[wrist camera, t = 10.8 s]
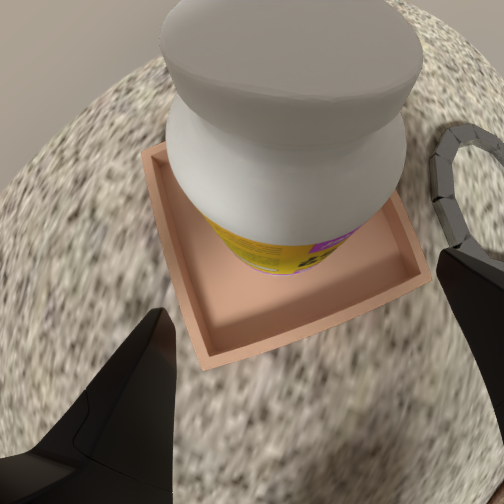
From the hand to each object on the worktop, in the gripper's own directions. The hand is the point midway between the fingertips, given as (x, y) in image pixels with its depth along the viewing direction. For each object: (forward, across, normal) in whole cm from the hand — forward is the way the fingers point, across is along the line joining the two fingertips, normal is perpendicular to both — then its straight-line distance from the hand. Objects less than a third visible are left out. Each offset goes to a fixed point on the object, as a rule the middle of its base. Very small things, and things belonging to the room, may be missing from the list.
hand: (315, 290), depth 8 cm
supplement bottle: (+8, 0, +2) cm, 9 cm away
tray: (+9, 0, +2) cm, 9 cm away
